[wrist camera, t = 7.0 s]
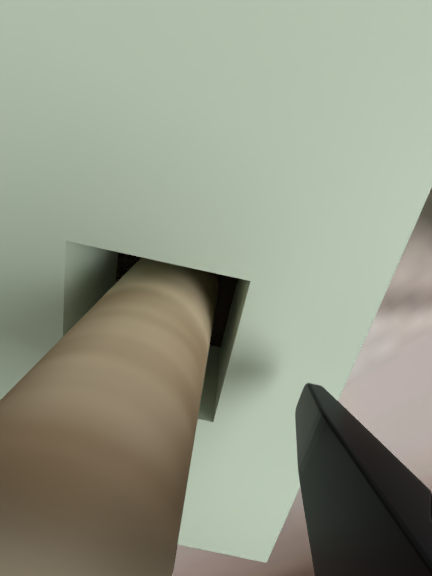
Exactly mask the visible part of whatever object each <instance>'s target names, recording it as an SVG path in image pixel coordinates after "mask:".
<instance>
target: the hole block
mask: <svg viewBox="0 0 432 576" xmlns="http://www.w3.org/2000/svg"><path fill="white" fill-rule="evenodd" d="M431 188H432V0H0V400H1V399H2V398H3V397H4V396H5V395H6V394H7V393H8V392H9V391H10V390H11V389H12V388H13V387H14V386H15V385H16V384H17V383H18V382H19V381H20V380H21V379H22V378H23V377H24V376H25V375H26V374H27V373H28V372H29V371H30V370H31V369H32V368H33V367H34V366H35V365H36V364H37V363H38V362H39V361H40V360H41V358H42V357H43V356H44V355H45V354H46V353H47V352H48V351H49V350H50V349H51V348H52V347H53V346H54V345H55V344H56V343H57V342H58V341H59V340H60V339H61V338H62V337H63V336H64V335H65V334H66V333H67V332H68V331H69V330H70V329H71V328H72V327H73V326H74V325H75V324H76V323H77V322H78V321H79V320H80V319H81V318H82V317H83V316H84V315H85V314H86V313H87V312H88V311H89V310H90V309H91V308H92V307H93V306H94V305H95V304H96V303H97V302H98V301H99V300H100V299H101V298H102V297H103V296H104V295H105V294H106V293H107V292H108V291H109V290H110V289H111V288H112V287H113V286H114V285H115V284H116V274H117V264H118V253H124V254H129V255H133V256H138V257H142V258H147V259H152V260H156V261H161V262H165V263H170V264H175V265H179V266H184V267H188V268H193V269H197V270H202V271H207V272H211V273H216V274H220V275H225V276H230V277H234V278H238V280H237V284H236V288H235V292H234V296H233V300H232V304H231V308H230V312H229V316H228V320H227V324H226V328H225V332H224V336H223V340H222V344H221V347H216V346H211V345H210V346H209V352H208V358H207V364H206V370H205V377H204V383H203V389H202V395H201V401H200V408H199V414H198V420H197V426H196V432H195V439H194V445H193V451H192V457H191V463H190V470H189V476H188V482H187V488H186V494H185V501H184V507H183V513H182V519H181V525H180V532H179V538H178V544H177V545H182V546H187V547H192V548H197V549H202V550H207V551H211V552H216V553H221V554H226V555H231V556H236V557H241V558H245V559H250V560H255V561H260V562H265V563H267V561H268V558H269V556H270V554H271V552H272V549H273V547H274V545H275V543H276V540H277V538H278V536H279V533H280V531H281V529H282V527H283V524H284V522H285V520H286V518H287V515H288V513H289V511H290V508H291V506H292V504H293V502H294V499H295V497H296V495H297V493H298V490H299V488H300V481H299V473H298V462H297V443H296V423H295V410H296V406H297V403H298V401H299V398H300V395H301V393H302V390H303V388H304V386H305V384H307V383H312V384H316V385H321V386H323V387H324V388H325V389H326V390H327V391H328V392H329V393H330V394H331V395H332V396H333V397H334V398H335V399H336V400H337V401H338V399H339V397H340V395H341V393H342V390H343V388H344V386H345V384H346V381H347V379H348V377H349V374H350V372H351V370H352V368H353V365H354V363H355V361H356V359H357V356H358V354H359V352H360V349H361V347H362V345H363V343H364V340H365V338H366V336H367V334H368V331H369V329H370V327H371V324H372V322H373V320H374V318H375V315H376V313H377V311H378V309H379V306H380V304H381V302H382V299H383V297H384V295H385V293H386V290H387V288H388V286H389V284H390V281H391V279H392V277H393V274H394V272H395V270H396V268H397V265H398V263H399V261H400V259H401V256H402V254H403V252H404V249H405V247H406V245H407V243H408V240H409V238H410V236H411V234H412V231H413V229H414V227H415V224H416V222H417V220H418V218H419V215H420V213H421V211H422V209H423V206H424V204H425V202H426V200H427V197H428V195H429V193H430V190H431Z"/></svg>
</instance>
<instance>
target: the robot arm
mask: <svg viewBox="0 0 432 576" xmlns="http://www.w3.org/2000/svg"><path fill="white" fill-rule="evenodd" d="M295 423H296V443H297V462H298V473H299V481H300V487H301V493H302V499H303V505H304V511H305V518H306V524H307V530H308V536H309V542H310V548H311V554H312V561H313V567H314V573H315V576H432V493H431V491H430V490H429V489H428V488H427V487H426V486H425V485H424V484H423V483H422V482H421V481H420V480H419V479H418V478H417V477H416V476H415V475H414V474H413V473H412V472H411V471H410V470H409V469H408V468H407V467H406V466H405V465H403V464H402V463H401V462H400V461H399V460H398V459H397V458H396V457H395V456H394V455H393V454H392V453H391V452H390V451H389V450H388V449H387V448H386V447H385V446H384V445H383V444H382V443H381V442H380V441H379V440H378V439H377V438H376V437H374V436H373V435H372V434H371V433H370V432H369V431H368V430H367V429H366V428H365V427H364V426H363V425H362V424H361V423H360V422H359V421H358V420H357V419H356V418H355V417H354V416H353V415H352V414H351V413H350V412H349V411H348V410H347V409H345V408H344V407H343V406H342V405H341V404H340V403H339V402H338V401H337V400H336V399H335V398H334V397H333V396H332V395H331V394H330V393H329V392H328V391H327V390H326V389H325V388H324V387H323V386H321V385H316V384H312V383H307V384H305V386H304V388H303V390H302V393H301V395H300V398H299V401H298V403H297V406H296V410H295Z"/></svg>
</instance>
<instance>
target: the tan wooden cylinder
mask: <svg viewBox="0 0 432 576" xmlns="http://www.w3.org/2000/svg"><path fill="white" fill-rule="evenodd" d="M218 290H219V281H218V276H217V274H216V273H211V272H207V271H202V270H197V269H193V268H188V267H184V266H179V265H175V264H170V263H165V262H161V261H156V260H152V259H147V258H142V257H141V258H140V259H139V260H138V261H137V262H136V263H135V264H134V265H133V266H132V267H131V268H130V269H129V270H128V271H127V272H126V273H125V274H124V275H123V276H122V278H121V279H120V280H119V281H118V282H117V283H116V284H115V285H114V286H113V287H112V288H111V289H110V290H109V291H108V292H107V293H106V294H105V295H104V296H103V297H102V298H101V299H100V300H99V301H98V302H97V303H96V304H95V305H94V306H93V307H92V308H91V309H90V310H89V311H88V312H87V313H86V314H85V315H84V316H83V317H82V318H81V319H80V320H79V321H78V322H77V323H76V324H75V325H74V326H73V327H72V328H71V329H70V330H69V331H68V332H67V333H66V334H65V335H64V336H63V337H62V338H61V339H60V340H59V341H58V342H57V343H56V344H55V345H54V346H53V347H52V348H51V349H50V350H49V351H48V352H47V353H46V354H45V355H44V356H43V357H42V358H41V360H40V361H39V362H38V363H37V364H36V365H35V366H34V367H33V368H32V369H31V370H30V371H29V372H28V373H27V374H26V375H25V376H24V377H23V378H22V379H21V380H20V381H19V382H18V383H17V384H16V385H15V386H14V387H13V388H12V389H11V390H10V391H9V392H8V393H7V394H6V395H5V396H4V397H3V398H2V399H1V400H0V576H171V575H172V573H173V569H174V563H175V556H176V550H177V544H178V538H179V532H180V525H181V519H182V513H183V507H184V501H185V494H186V488H187V482H188V476H189V470H190V463H191V457H192V451H193V445H194V439H195V432H196V426H197V420H198V414H199V408H200V401H201V395H202V389H203V383H204V377H205V370H206V364H207V358H208V352H209V346H210V339H211V333H212V327H213V321H214V315H215V308H216V302H217V296H218Z"/></svg>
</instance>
